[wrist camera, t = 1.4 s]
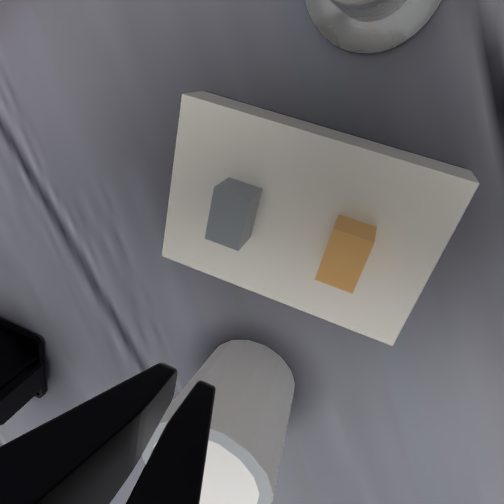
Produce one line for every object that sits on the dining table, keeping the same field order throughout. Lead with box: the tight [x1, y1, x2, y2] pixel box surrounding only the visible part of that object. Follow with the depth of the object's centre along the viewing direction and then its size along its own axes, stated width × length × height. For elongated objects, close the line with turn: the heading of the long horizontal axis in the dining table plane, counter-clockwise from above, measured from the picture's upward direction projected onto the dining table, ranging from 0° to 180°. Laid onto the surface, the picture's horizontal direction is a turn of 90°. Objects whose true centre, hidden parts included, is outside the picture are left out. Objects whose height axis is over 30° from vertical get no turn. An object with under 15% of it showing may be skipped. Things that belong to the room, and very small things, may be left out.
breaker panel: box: [162, 91, 480, 346], centre depth 17 cm, size 12×8×4 cm, turn 77°
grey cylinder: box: [142, 340, 295, 504], centre depth 22 cm, size 7×7×7 cm
